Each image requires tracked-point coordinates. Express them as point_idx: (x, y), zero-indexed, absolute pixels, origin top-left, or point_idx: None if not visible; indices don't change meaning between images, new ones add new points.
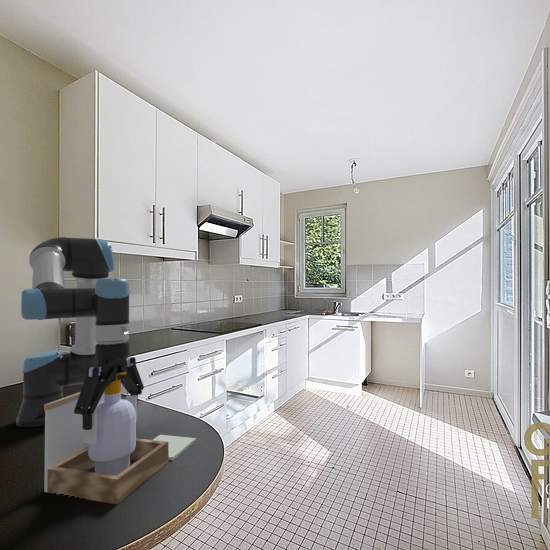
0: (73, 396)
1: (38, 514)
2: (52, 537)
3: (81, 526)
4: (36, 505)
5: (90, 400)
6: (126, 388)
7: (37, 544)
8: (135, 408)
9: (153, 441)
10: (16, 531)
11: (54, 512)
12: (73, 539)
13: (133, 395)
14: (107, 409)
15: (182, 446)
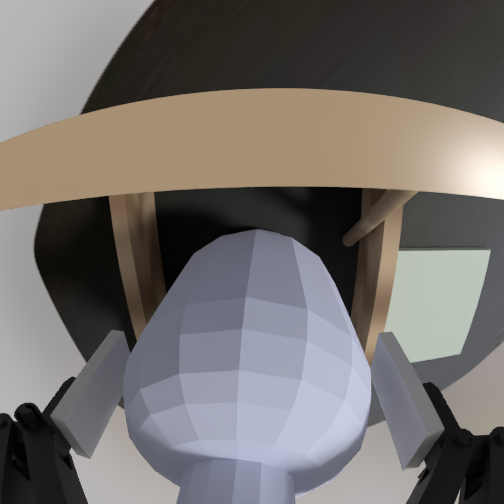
0: (26, 202)
1: (82, 229)
2: (68, 309)
3: (101, 335)
4: None
5: (33, 496)
6: (420, 492)
7: (52, 299)
8: (386, 418)
9: (369, 359)
10: (47, 237)
11: (98, 256)
12: (82, 342)
13: (422, 456)
14: (158, 472)
15: (420, 354)
